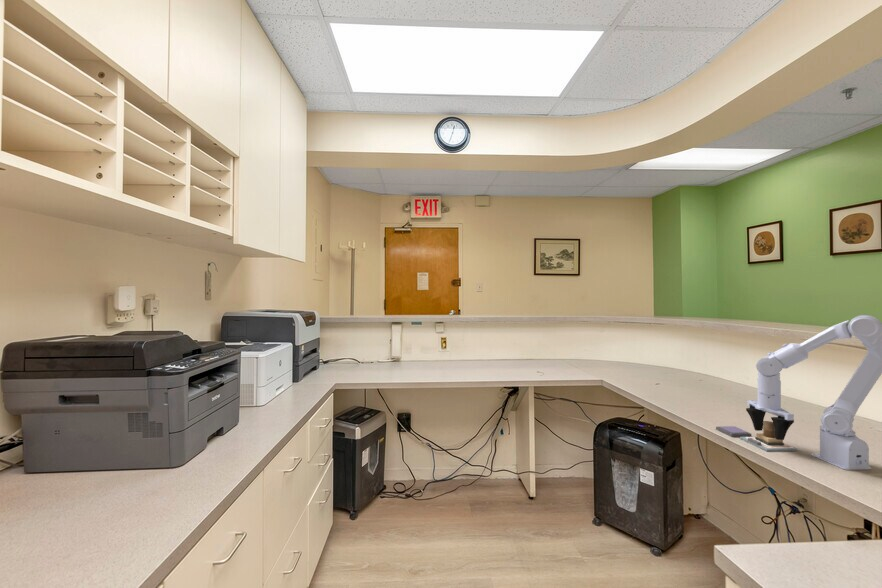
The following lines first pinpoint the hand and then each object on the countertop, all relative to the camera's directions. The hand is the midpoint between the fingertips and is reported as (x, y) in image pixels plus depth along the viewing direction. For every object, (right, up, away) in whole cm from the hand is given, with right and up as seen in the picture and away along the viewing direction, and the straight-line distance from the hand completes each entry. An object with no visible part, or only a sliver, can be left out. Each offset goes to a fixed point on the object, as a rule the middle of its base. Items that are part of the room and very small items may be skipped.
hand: (768, 434), depth 121 cm
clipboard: (-1, -3, 0) cm, 3 cm away
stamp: (0, -3, 0) cm, 3 cm away
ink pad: (-4, -3, +10) cm, 11 cm away
